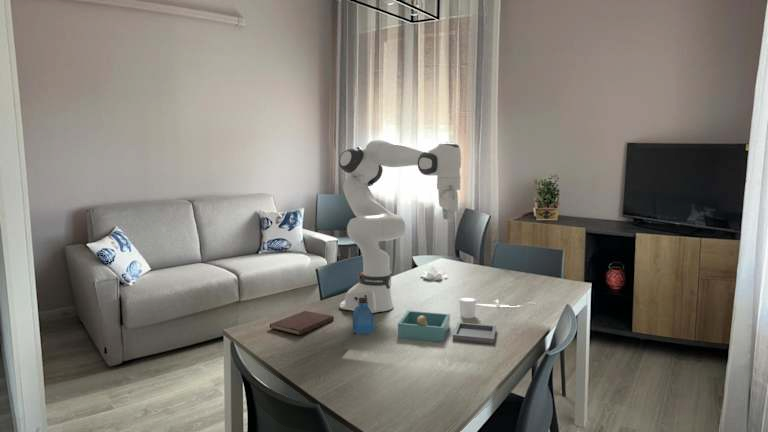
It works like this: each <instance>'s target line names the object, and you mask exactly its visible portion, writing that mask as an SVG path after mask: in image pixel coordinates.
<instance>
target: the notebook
mask: <svg viewBox="0 0 768 432" xmlns="http://www.w3.org/2000/svg"><path fill="white" fill-rule="evenodd" d="M334 319H335V318H334V315H331V314H325V313H324V314H323V313H317V312H314V311H309V310H303V311H301V312H298V313H295V314H293V315H289V316H287V317H284V318H282V319H279V320H276V321H274V322H272V323H270V324H269V328H270V329H274V330H277V331H281V332H285V333H288V334H289V333H290V334H293V335H298V336H301V335H303V334H305V333H308V332H309V331H312V330H315V329H317V328H319V327H321V326H324V325H326V324H328V323H330V321H331V322H333V321H334ZM332 320H333V321H332Z"/></svg>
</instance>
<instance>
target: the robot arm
mask: <svg viewBox="0 0 768 432" xmlns="http://www.w3.org/2000/svg"><path fill="white" fill-rule="evenodd" d="M338 164H339V168H341V170H342V171H344V172H345V173H347V174H349V175H350V176H349V177H347V179H345V181H344V182H343V186H342V189H343V193H344V194H343V195H344V196H345V197H344V198H345V199H346V201H347V204H348V206H349V207H350V209H351V211H352V212H353V214H354V216H355V217H353V218H351V219H350V220H349V221H348V223H347V227H346V232H347V236H348V238H349V239H350V240H351V241H352V242H353V243H355V244H356V245H357V247H358V248H359V250H360V252H361V253H360V254H361V256H362V265H363V266H362V268H363V269H362V272H361V273H360V274H359V276H357V280H358V283H356V284H355V285H353V286H352V287H350V288H349V289H348V290H347V291H346V294H345V297H344V298H345V299H344V300H343V301H341V302H340V303H339V308H340V309H341V310H348V311H352V312H354V310H355V308H356V307H357V306H359V305H358V302H359V298H367V302H368V305H367V306H368V307H369V309H370V311H371V313H372V314H375V313H379V312H386V311H390V310H392V309H394V307H395V306H394V303H393V299H392V293H391V292H392V291H391V287H392V276H391V275H392V274H391V269H390V268H391V264H390V263H391V257H390V255H389V254H388V252H386V251H385V250H383V249H381V248H380V246H379V245H380V244H379V242H384V241H385V242H386V241H392V240H396V239H400V238H402V237H403V236H404V234H405V231H406V223H405V220H404V219H403V217H402V216H401V215H398V214H395V213H393V212H391V211H389V209H386V208H385V207H384V206H383V205H381V204H380V203H379V202H378V200H377V199H376V198H375V196H374V194H373V192H372V191H371V189H370V187H371V186H373V185H374V184H375V183H377V182H378V181H379V180H380V178H381V177H382V175H383V167H387V168H400V167H402V168H403V167H408V166H409V167H411V166H417V168H418V170H419V173H421V174H422V175H425V176H437V178H436V180H437V181H436V190H438V194H437V195H438V205H439V207H440V208H442V218H443V220H447V223H448V224H449V223H450V224H451V223H454V222H453V221H454V216H455V215H454V214H455V212H458V209H459V195H458V194H459V193H458V191H460V190H461V171H460V170H461V168H462V167H461V166H462V153H461V148H460V146H459V145H458V143H453V142H448V141H443V142H442V141H441V142H440V143H439V144H438V145H436V147H434V148H432V149H430V150H426V151H425V150H421V149H418V148H417V149H416V148H414V147H410V146H408V145H405V144H402V143H399V142H396V141H393V140H387V139H374V140H371V141H369V142H368V143H367V145H366V146H365V148H364V149H362V148H361V146H358V147H356V148H349V149H346V150H344V151H343V152H342V153H341V154H340V157H339V160H338Z"/></svg>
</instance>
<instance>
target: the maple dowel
mask: <svg viewBox="0 0 768 432" xmlns="http://www.w3.org/2000/svg"><path fill="white" fill-rule="evenodd" d="M417 322H418V325H427V326H428V324H427V320H426V317H425V316H422V315H421V316H419V317H418V318H417Z"/></svg>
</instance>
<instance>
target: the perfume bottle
mask: <svg viewBox="0 0 768 432" xmlns="http://www.w3.org/2000/svg"><path fill="white" fill-rule="evenodd" d="M358 305H359V306H357V307H356V308H355V310H354V311H352V329H353V330H354V333H355V335H361V334H362V335H363V334H373V333H374V315H373V314H374V313H371V311H370V309H369V307H368V306H367V305H368V302H367V298H359V302H358Z"/></svg>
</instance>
